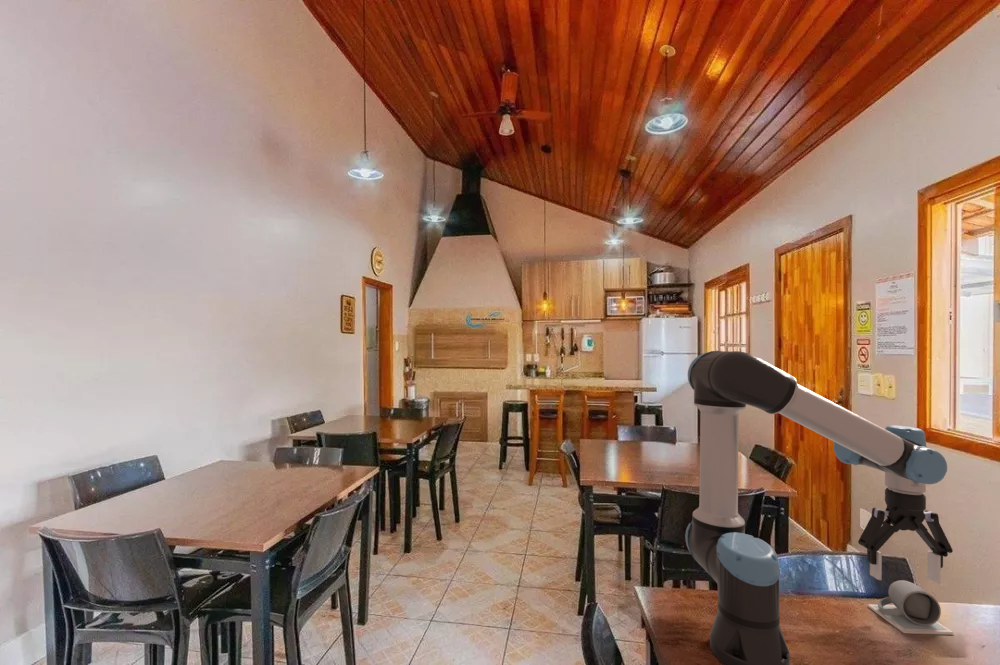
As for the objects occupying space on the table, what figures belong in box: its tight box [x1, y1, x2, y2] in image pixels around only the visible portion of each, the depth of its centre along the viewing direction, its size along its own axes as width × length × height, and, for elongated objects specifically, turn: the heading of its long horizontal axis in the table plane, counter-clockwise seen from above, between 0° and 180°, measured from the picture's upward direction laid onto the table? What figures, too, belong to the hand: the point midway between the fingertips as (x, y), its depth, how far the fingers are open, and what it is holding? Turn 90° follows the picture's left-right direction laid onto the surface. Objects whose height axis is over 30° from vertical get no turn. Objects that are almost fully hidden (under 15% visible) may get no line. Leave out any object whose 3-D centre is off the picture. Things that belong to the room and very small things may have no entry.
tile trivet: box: [867, 603, 954, 636], centre depth 111 cm, size 11×11×1 cm
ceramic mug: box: [876, 579, 942, 626], centre depth 112 cm, size 11×8×8 cm
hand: (904, 579), depth 112 cm, fingers open, 13 cm apart
